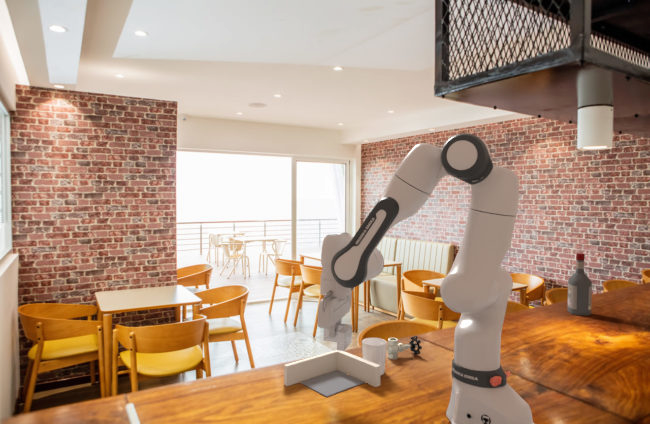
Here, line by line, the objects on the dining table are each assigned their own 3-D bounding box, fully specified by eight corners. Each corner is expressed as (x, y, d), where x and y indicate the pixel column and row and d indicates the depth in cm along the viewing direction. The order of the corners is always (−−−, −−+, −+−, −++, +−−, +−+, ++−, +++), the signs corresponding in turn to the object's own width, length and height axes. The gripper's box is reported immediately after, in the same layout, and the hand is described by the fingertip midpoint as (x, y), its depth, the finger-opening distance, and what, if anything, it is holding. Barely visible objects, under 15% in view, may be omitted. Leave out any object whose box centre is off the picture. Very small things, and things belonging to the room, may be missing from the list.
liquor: (572, 315, 215) (573, 254, 214) (566, 310, 224) (567, 252, 223) (592, 316, 213) (594, 255, 212) (585, 311, 222) (587, 253, 221)
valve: (392, 361, 149) (421, 357, 154) (392, 342, 149) (422, 338, 154) (382, 355, 156) (411, 351, 160) (383, 337, 155) (411, 333, 160)
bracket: (351, 341, 126) (352, 324, 126) (343, 351, 118) (344, 333, 118) (325, 338, 129) (326, 321, 128) (316, 347, 121) (316, 329, 121)
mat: (364, 383, 131) (364, 382, 131) (326, 397, 122) (326, 396, 122) (337, 371, 140) (337, 370, 140) (300, 383, 131) (300, 382, 131)
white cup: (366, 378, 135) (367, 346, 135) (358, 368, 143) (358, 338, 142) (390, 375, 137) (390, 344, 137) (380, 366, 145) (380, 336, 144)
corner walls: (380, 385, 130) (380, 365, 130) (324, 407, 115) (324, 385, 115) (338, 367, 144) (338, 349, 144) (283, 384, 129) (284, 364, 129)
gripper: (334, 296, 115) (333, 348, 116) (355, 282, 135) (354, 327, 135) (312, 294, 117) (311, 344, 118) (336, 281, 137) (334, 324, 137)
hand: (334, 335), depth 127 cm, fingers closed on bracket
